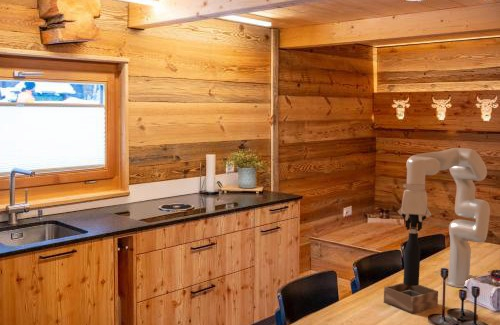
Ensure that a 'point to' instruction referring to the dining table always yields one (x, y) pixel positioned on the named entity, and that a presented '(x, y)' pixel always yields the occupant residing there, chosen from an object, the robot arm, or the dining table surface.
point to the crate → (410, 297)
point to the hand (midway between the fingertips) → (413, 229)
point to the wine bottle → (412, 254)
